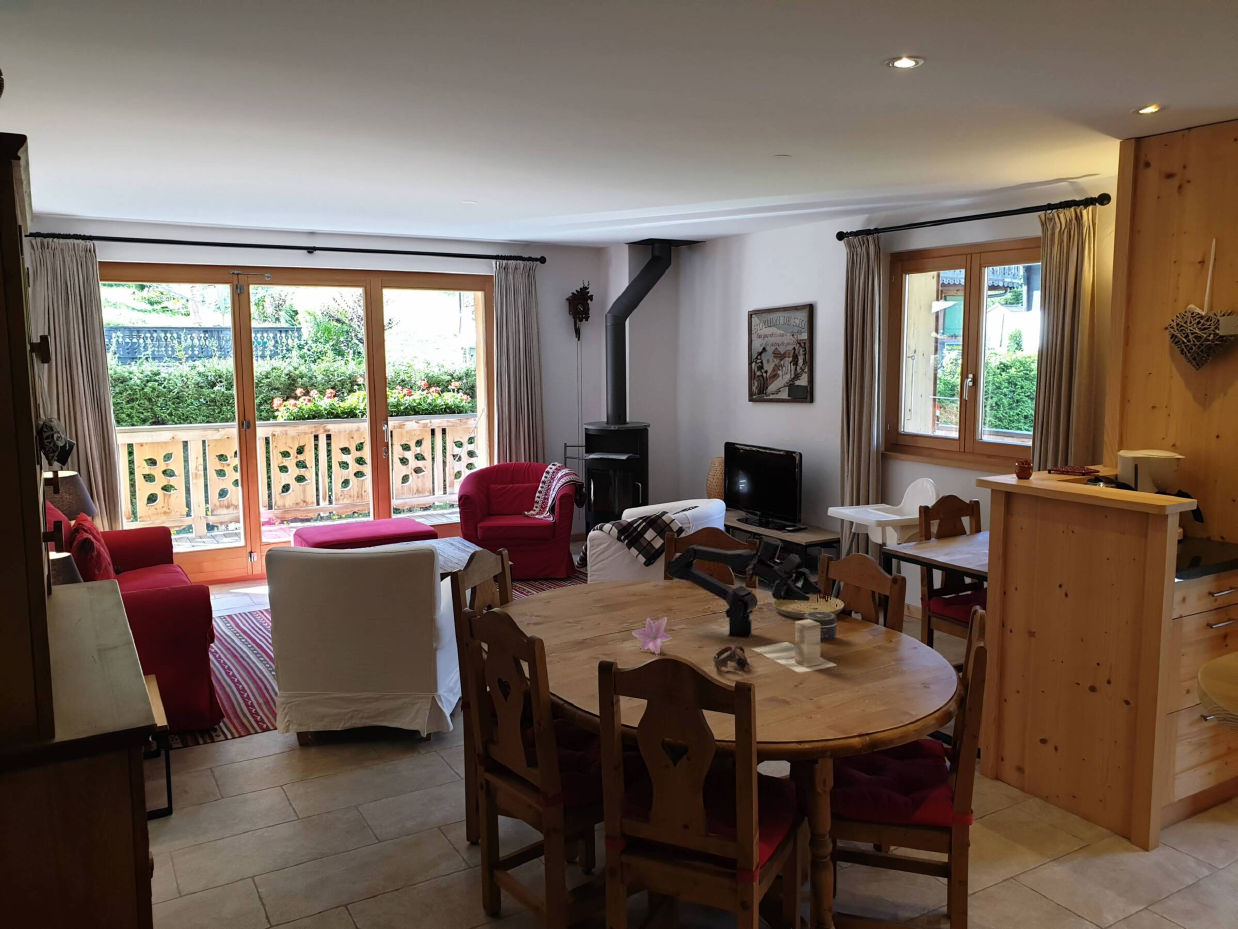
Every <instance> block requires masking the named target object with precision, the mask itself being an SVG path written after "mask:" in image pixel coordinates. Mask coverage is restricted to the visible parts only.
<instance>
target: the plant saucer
mask: <svg viewBox="0 0 1238 929" xmlns="http://www.w3.org/2000/svg"><path fill="white" fill-rule="evenodd" d="M806 595H807V596H809V597H810V599H809V601H801V600H797V601H800V602H804V604H803V603H801V604H800V602H797V601H795V600H779V601H778V600H776V599H774V600H773V602H772V605H773V607H774V609H775V610H776V611H777V612H778V613H779V614H780V615H784V616H785V615H786V617H788V616H789V617H788V618H792V617H795V618H794V619H797V618H803V619H802V620H804V615H805V614H806V613H808V612H813V611H823V612H829V613H832V614H834V615H835V616H837V615H838V614H839V613H841V611H842V610H844V609H843V608H844V606H845V603H844V602H843V601H842V600H841V599H839V598H835V597H832V596H828V597H829V598H828V602H826V601H825V599H822V598H821V599H820V598H819V595H820V594H819V595H818V594H806ZM817 595H818V602H817ZM825 596H826V595H825ZM830 597H831V600H830ZM826 600H827V596H826ZM806 604H807V605H806ZM836 604H837V607H836ZM800 605H801V606H800ZM809 605H811V606H809ZM785 606H789V607H790V609H791V608H795V609H798V610H802V611H805V612H794V611H791V610H792V609H791V610H790V609H788V610H790V611H788V610H786V609H785ZM797 607H799V608H797ZM807 607H808V608H807ZM800 608H801V609H800ZM810 608H811V609H810ZM812 608H818V609H817V610H814V609H812Z"/></svg>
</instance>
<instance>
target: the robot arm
mask: <svg viewBox="0 0 1238 929" xmlns="http://www.w3.org/2000/svg"><path fill="white" fill-rule="evenodd" d="M781 544H782V541H781V540H780V539H778V538H777V537H772V536H765V535H761V536H759V538H758V543H757V546H756V549H755V550H754V551H753V550H751V549H736V550H727V549H726V550H725V549H719V548H715V547H714V548H713V547H707V546H703V545H702V546H701V545H698V544H693V545H691V546H688V547H687V548H686V549H685V550H684V551H683V552H682V553H680V554H679V555H677V556H676V557H675V558H672V559H671V560H668V561H667V562H666V564H665V571H666V574H667V575H668V576H669V577H671V578H674V579H676V580H681V581H688V582H690V583H692V584H694V585H695V586H697V587H699V588H701V589H703V590H705V591H706V592H709V593H711V594H712V595H714V596H716V597H718V598H719V599H720V600H723V601H725V603H726V604H727V605H728V608H727V609H726V610H725V615H726V618H728V619H729V620H728V622H729V625H728V626H729V627H728V628H729V632H728V635H727V636H728V637H731V638H732V637H733V638H735V637H736V638H749V637H750V636H751V634H752V632H753V626H752V624H753V623H752V622H753V620H752V619H751V614H753V611H754V610H755V609H756V608H757V606H758V598H757V595H756V594H755V593H754V592H753V590H751V589H748V588H746V587H745V586H744V585H739V586H737V587H735V588H734V587H731V586H730V585H727V584H725V583H724V582H722V581H721V580H719V579H717V578H714V577H712V576H710V575H709V574H707V573H705V572H703V571H701V570H699V569H698V568H697V567H696V566H695V564H694V563H695V561H696V560H701V561H705V562H710V563H711V562H712V563H718V564H722V565H726V566H727V567H728V568H730V569H733V570H735V571H738V572H744V571H746V570H748V569H751V570H750V571H749V572H747V576H748V579H749V581H750V582H752V581H755V580H757V579H758V578H759V579H760V580H762V581H764V582H766V583H767V586H769V587H772V586H773V589H772V592H771V596H772V597H773V598H772V599H774V600H778V601H779V600H801V601H809V599H810V597H809V596H807V595H808V594H806V593H813V594H817V595H818V594H819V595H821V594H822V593H823V589H821V587H819V586H818V585H817V584H816V583H815V582H814V581H813V580H812V579H811V575H810V574H811V573H810V570H809V569H807V568H806V567H802V568H801V569H798V570H795V569H796V567H797V566H798V565H799V564H801V562H802V560H801V558H800V556H799V555H798V554H796V553H791V554H789V556H787V557H786V558H785V559H784V561H783V562H782V563H781V564H780V565H776V564H773V563H771V562H772V561H776V560H777V557H778V555H779V551H780V548H781ZM804 592H805V593H804Z"/></svg>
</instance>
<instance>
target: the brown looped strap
mask: <svg viewBox="0 0 1238 929" xmlns="http://www.w3.org/2000/svg"><path fill="white" fill-rule="evenodd" d="M727 653H728V654H727ZM725 654H726V655H725ZM745 654H746V653H745V649H744V647H743V646H742V645H740V644H738V645H727V646H725V647H723V648H721V649H719V651H717V652H716V653H715V655H714V656H713V657H712V661H713V662H714V664H713V666H714V669H716V670H719V669H721V668H725V669H729V667H728V665H729V662H730V663H735V664H736V665H737V664H739V665H743V666H744V668H743V671H745V672H748V671H750V669H751V668H750V664H749V662H748V659H747V656H746V655H745ZM724 655H725V656H724ZM722 656H723V657H722Z"/></svg>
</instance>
